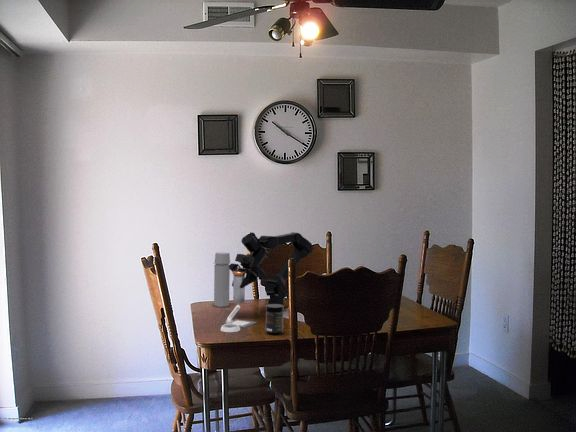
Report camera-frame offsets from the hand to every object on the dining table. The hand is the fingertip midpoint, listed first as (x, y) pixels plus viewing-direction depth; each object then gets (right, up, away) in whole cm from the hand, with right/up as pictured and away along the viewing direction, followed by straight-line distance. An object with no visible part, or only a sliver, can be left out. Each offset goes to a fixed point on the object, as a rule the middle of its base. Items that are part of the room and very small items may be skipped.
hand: (236, 286), depth 225 cm
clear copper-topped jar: (+1, -7, +1) cm, 7 cm away
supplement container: (+17, -15, -23) cm, 32 cm away
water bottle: (-10, -12, +26) cm, 30 cm away
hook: (-1, -14, -19) cm, 24 cm away
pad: (+2, -14, -10) cm, 17 cm away
